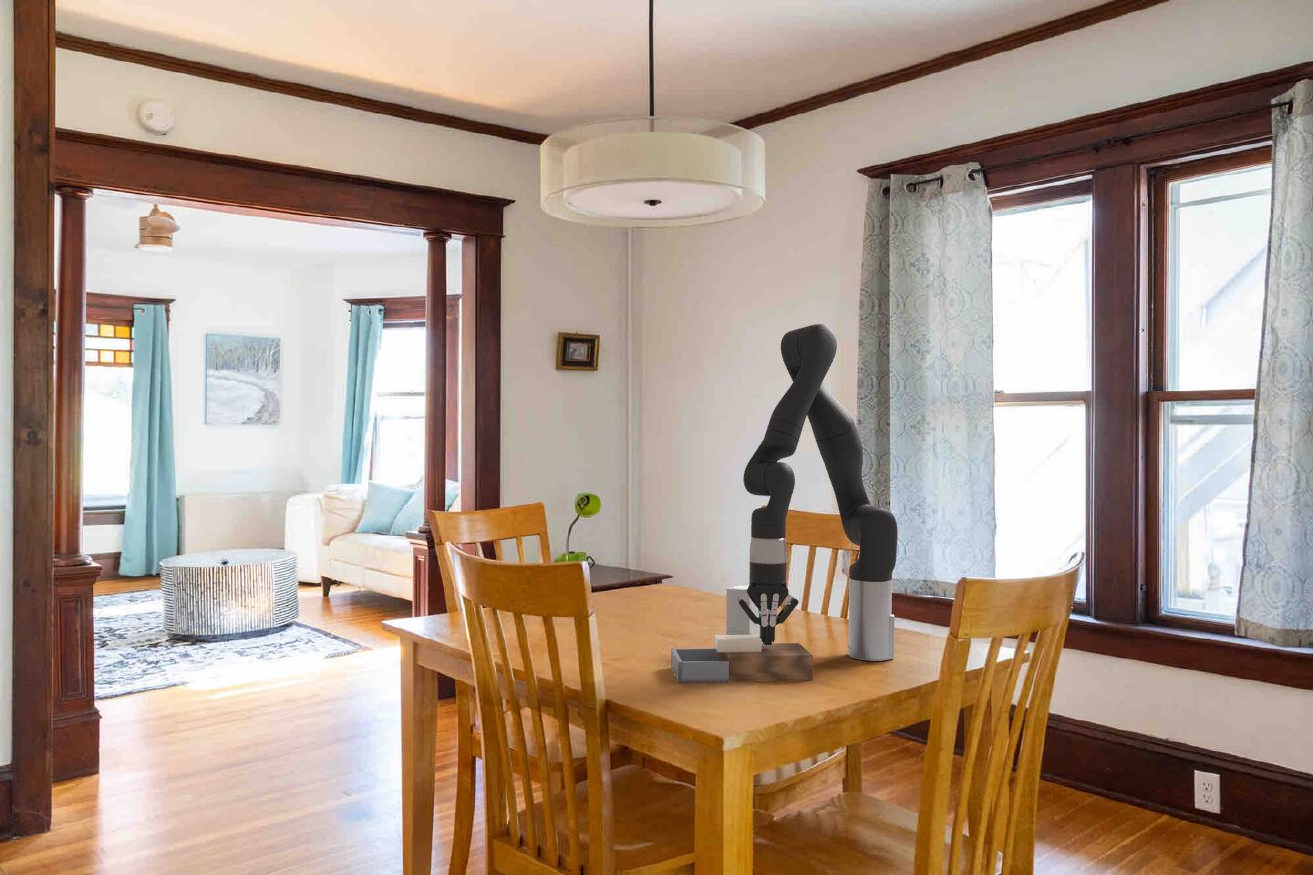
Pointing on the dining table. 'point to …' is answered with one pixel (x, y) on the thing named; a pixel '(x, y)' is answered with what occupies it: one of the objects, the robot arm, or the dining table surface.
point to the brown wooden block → (770, 663)
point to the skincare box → (739, 613)
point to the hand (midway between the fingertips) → (767, 644)
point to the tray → (698, 665)
